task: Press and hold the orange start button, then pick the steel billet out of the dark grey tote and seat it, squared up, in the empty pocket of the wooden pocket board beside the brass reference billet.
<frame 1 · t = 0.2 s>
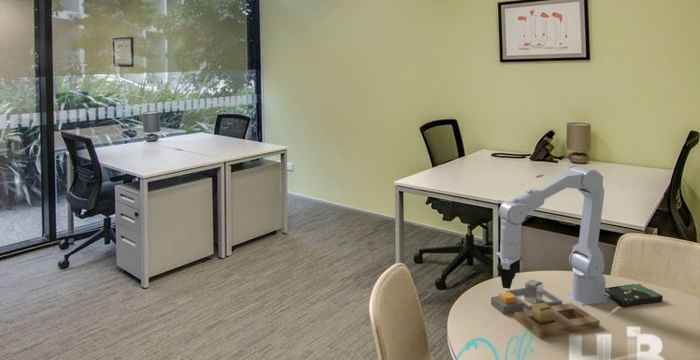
hand: (508, 283, 156), 9 cm above the table, tool pointing down, fingers open, 7 cm apart
tote: (533, 301, 164), on the table
disk drive: (630, 300, 165), on the table
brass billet: (541, 325, 147), resting on wooden pocket board
wooden pocket board: (555, 324, 149), on the table
start button: (507, 299, 158), point 3 cm above the table, slide at 0.0 cm
steel billet: (533, 300, 164), resting on tote
button housing: (506, 309, 159), on the table
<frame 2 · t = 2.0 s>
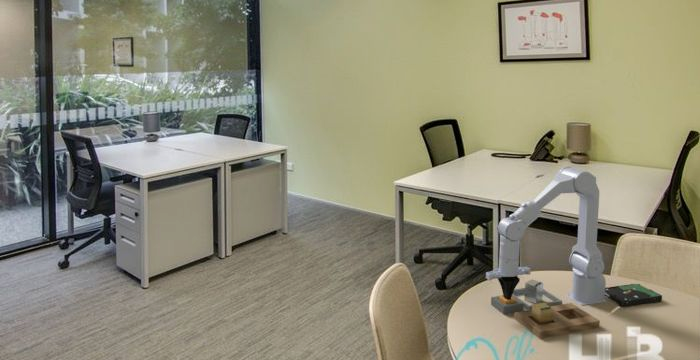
hand: (507, 298, 158), 4 cm above the table, tool pointing down, fingers closed, pressing on start button
start button: (507, 302, 159), point 2 cm above the table, slide at 0.9 cm, touching gripper
everything else where it was.
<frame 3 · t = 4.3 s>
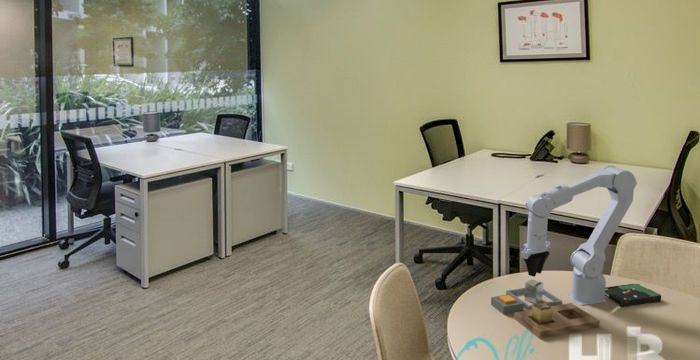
hand: (534, 274, 162), 9 cm above the table, tool pointing down, fingers open, 3 cm apart
start button: (507, 302, 159), point 2 cm above the table, slide at 1.0 cm
everything else where it was.
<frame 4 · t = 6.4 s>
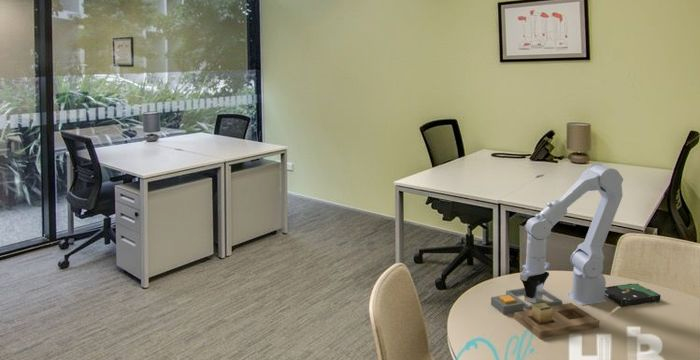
hand: (533, 295, 163), 2 cm above the table, tool pointing down, fingers closed on steel billet, 4 cm apart
steel billet: (533, 300, 164), resting on tote, touching gripper
everything else where it was.
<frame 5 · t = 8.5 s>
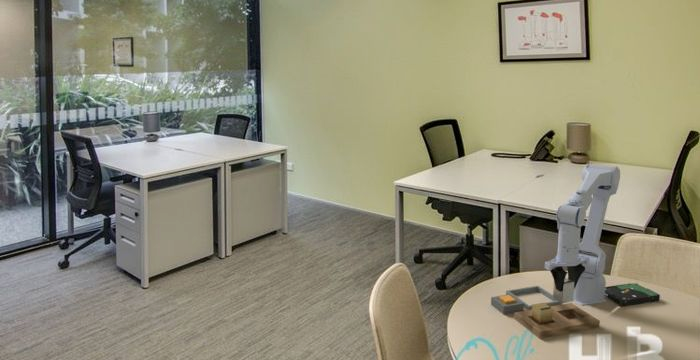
hand: (565, 289, 150), 9 cm above the table, tool pointing down, fingers closed on steel billet, 4 cm apart
steel billet: (563, 299, 152), point 6 cm above the table, touching gripper
everything else where it was.
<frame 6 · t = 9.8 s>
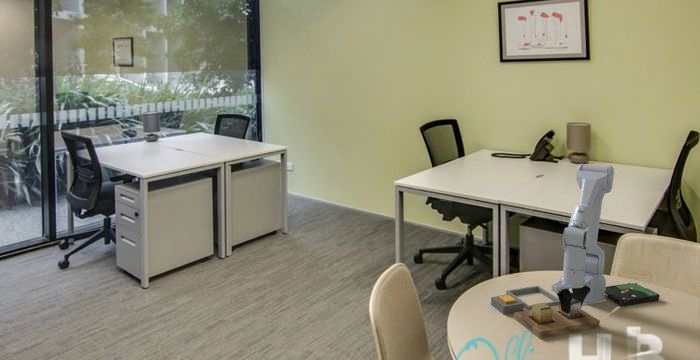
hand: (570, 310, 149), 4 cm above the table, tool pointing down, fingers closed on steel billet, 4 cm apart
steel billet: (569, 319, 150), resting on wooden pocket board, touching gripper
everything else where it was.
when the fingers open (3 cm above the table, at t = 10.7 s): steel billet stays where it is, resting on wooden pocket board.
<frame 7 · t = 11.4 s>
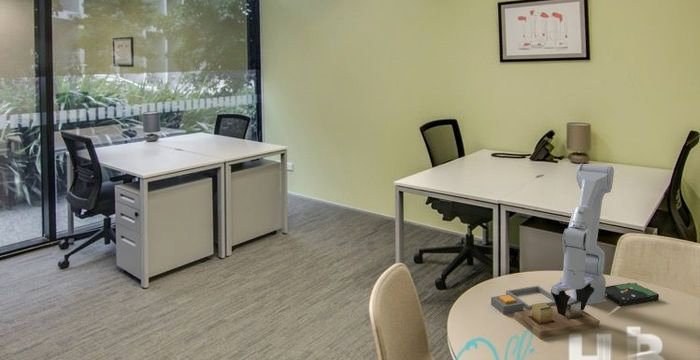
hand: (570, 311, 150), 3 cm above the table, tool pointing down, fingers open, 7 cm apart
steel billet: (569, 319, 150), resting on wooden pocket board
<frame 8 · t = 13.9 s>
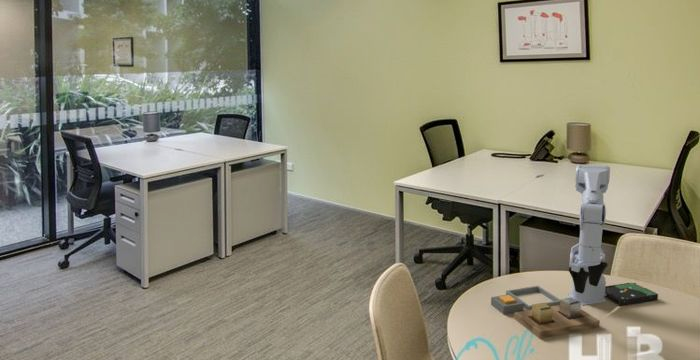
hand: (586, 288, 148), 10 cm above the table, tool pointing down, fingers open, 7 cm apart
at the end: steel billet 0.4 cm from the target spot on the wooden pocket board, point 0.5 cm above the wooden pocket board's base; steel billet tilted 0°; start button slide at 1.0 cm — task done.
